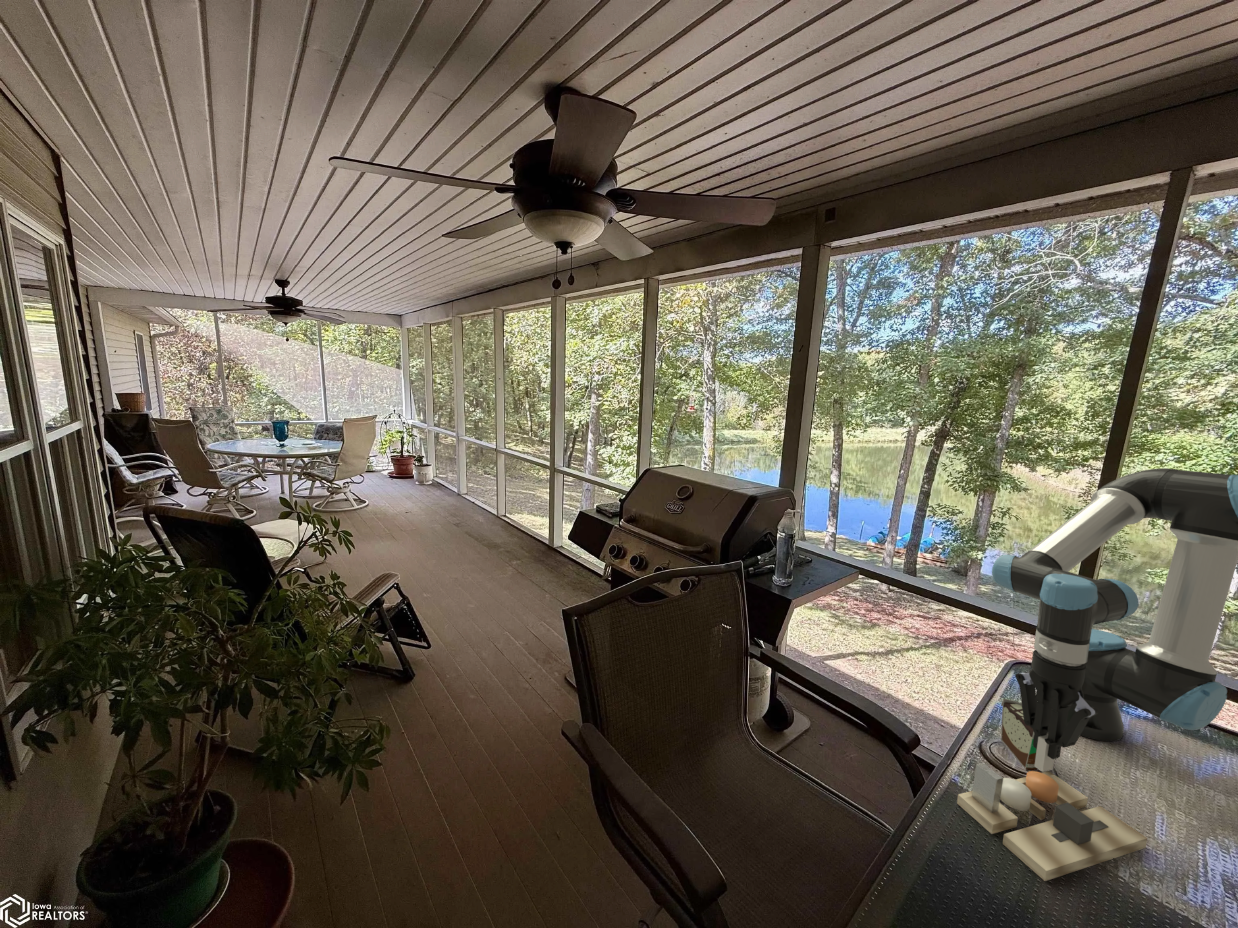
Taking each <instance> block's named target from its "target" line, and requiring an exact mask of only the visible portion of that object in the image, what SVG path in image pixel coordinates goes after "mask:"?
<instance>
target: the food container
mask: <svg viewBox="0 0 1238 928" xmlns="http://www.w3.org/2000/svg"><path fill="white" fill-rule="evenodd" d="M1000 705H1001V707H1002V711H1001V730H1000V731H1001V732H1000V734H1001V735H1000V741H1001V742H1002V744H1003V745H1004V746H1005V747H1006V748H1007V750H1008V751H1009V752H1010V753H1011V754H1012V755H1013V757H1014V759H1016V761H1017V763H1019V764H1020V765H1021V766H1023V767H1024V768H1023V767H1022V768H1023V769H1024V770H1025V771H1029V770H1031V771H1037V768H1036V767H1035V758H1036V751H1037V749H1036V748H1034V746H1033V740H1034V731H1033V729H1032V728H1031V727H1030V726H1027V725H1026V724H1025V723H1024V717H1023V709H1022V702H1018V701H1016V700H1013V699H1008V698H1007V699H1006V698H1002V701H1001V703H1000ZM1047 735H1048V733H1047Z"/></svg>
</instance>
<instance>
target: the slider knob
mask: <svg viewBox="0 0 1238 928" xmlns="http://www.w3.org/2000/svg"><path fill="white" fill-rule="evenodd" d="M1053 820H1054V821H1053V826H1054V827H1056V828H1057V829H1058V830H1060V831H1061V832H1062V833H1063V834H1065V835H1066V836H1067V837H1069V838H1070V839H1071V840H1073V841H1074V842H1075V843H1076V844H1078V845H1079V844H1082V843H1085V842H1089V841H1091V835H1092V828H1093V822H1094V821H1093V820H1092V819H1090V818H1089V817H1087V816H1086V815H1085V814H1083V813H1082V812H1081V811H1080V810H1079V809H1076V808H1075V807H1073V806H1072V805H1070V804H1069V803H1064V804H1061V805H1057V804H1056V805H1055V808H1054V815H1053Z"/></svg>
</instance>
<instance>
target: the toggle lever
mask: <svg viewBox="0 0 1238 928" xmlns="http://www.w3.org/2000/svg"><path fill="white" fill-rule="evenodd" d="M975 765H976V766H975V771H974V778H973V779H974V780H973V785H972V790H971V791H972V797H973V798H974V799H976V800H977V801H978V802H979V803H980V804H982V805H983V806H984V807H985V808H986V809H988V810H989V811H990V812H991V813H993V812H997V811H998V808H999V803H1001V802H1000V801H1001V799H1000V796H1001V790H1002V784H1003V778H1004V777H1003V776H1001V774H998V773H997V772H996V771H994V770H993V769H992V768H990V767H989V766H988V765H987V764H986V763H984V762H981V763H976V764H975Z"/></svg>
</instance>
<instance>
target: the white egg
mask: <svg viewBox="0 0 1238 928" xmlns="http://www.w3.org/2000/svg"><path fill="white" fill-rule="evenodd" d="M1002 778H1003V784H1002V790H1001V796H1000V801H1001V802H1003V803H1004V804H1005V805H1006V806H1007V807H1009V808H1012V809H1013V810H1017V811H1022V812H1027V811H1029V808H1030V802H1031V799H1032V795H1031V791H1030V790H1029V788H1028V787H1027V786H1025V785H1024V784H1022V783H1021V782H1019V781H1017V780H1016V779H1014V778H1010V777H1002Z"/></svg>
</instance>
